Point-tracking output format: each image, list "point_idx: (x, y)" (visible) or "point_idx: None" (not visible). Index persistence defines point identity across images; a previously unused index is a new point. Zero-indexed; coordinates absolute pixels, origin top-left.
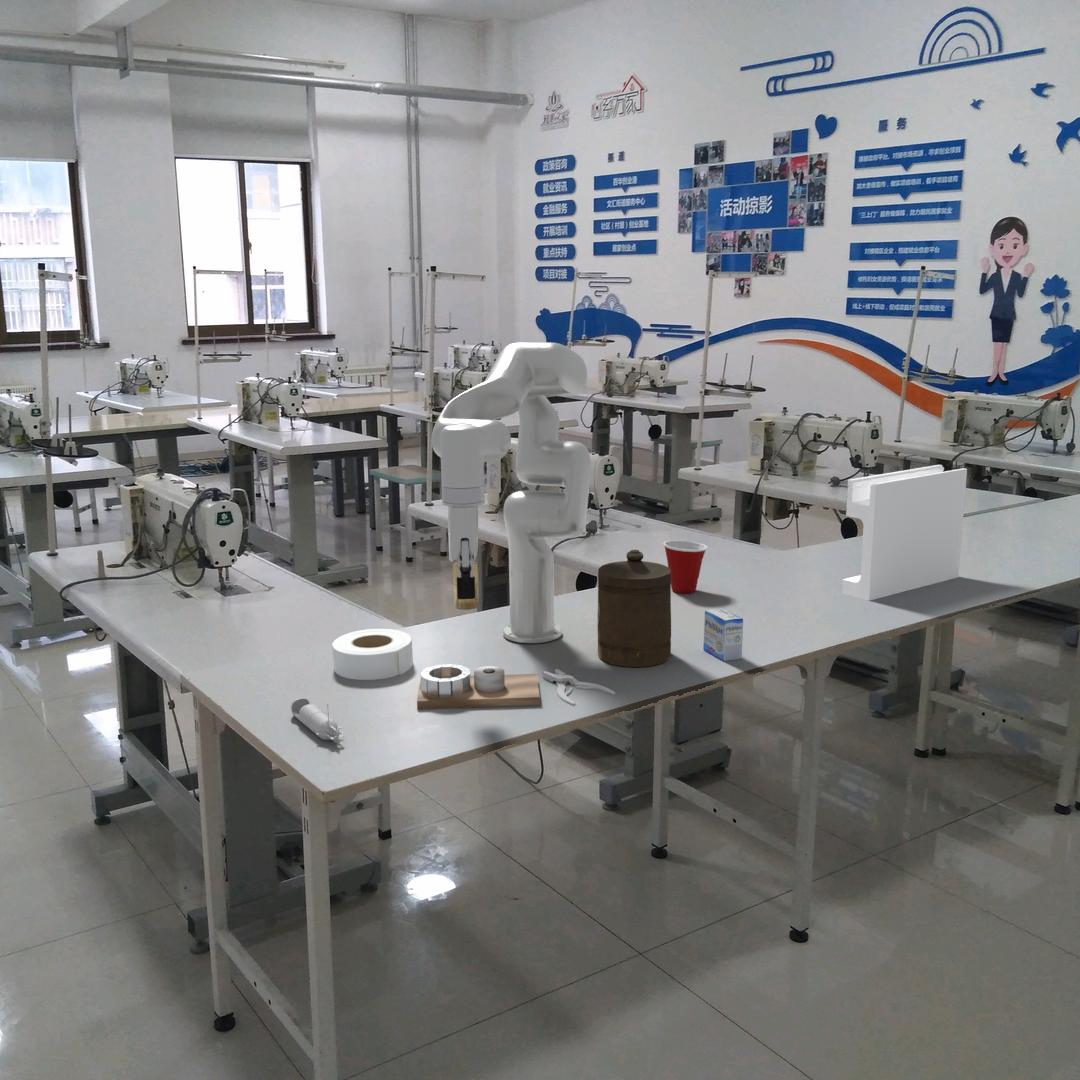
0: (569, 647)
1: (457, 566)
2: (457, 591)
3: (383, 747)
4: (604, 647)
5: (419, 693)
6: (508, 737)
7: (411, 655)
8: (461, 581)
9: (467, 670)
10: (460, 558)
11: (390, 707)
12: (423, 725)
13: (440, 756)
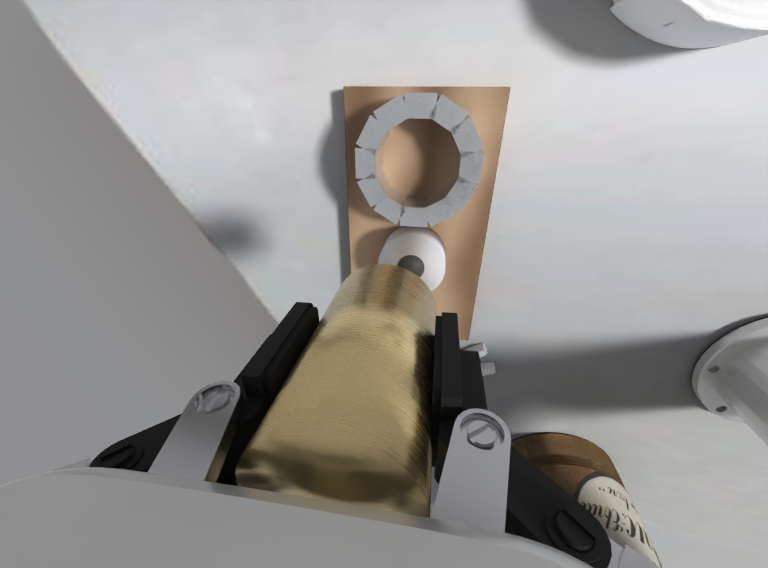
0: (637, 408)
1: (251, 446)
2: (283, 322)
3: (149, 19)
4: (538, 457)
5: (392, 90)
6: (231, 260)
7: (699, 40)
8: (234, 381)
9: (424, 221)
10: (557, 505)
11: (362, 8)
12: (263, 108)
13: (142, 147)
